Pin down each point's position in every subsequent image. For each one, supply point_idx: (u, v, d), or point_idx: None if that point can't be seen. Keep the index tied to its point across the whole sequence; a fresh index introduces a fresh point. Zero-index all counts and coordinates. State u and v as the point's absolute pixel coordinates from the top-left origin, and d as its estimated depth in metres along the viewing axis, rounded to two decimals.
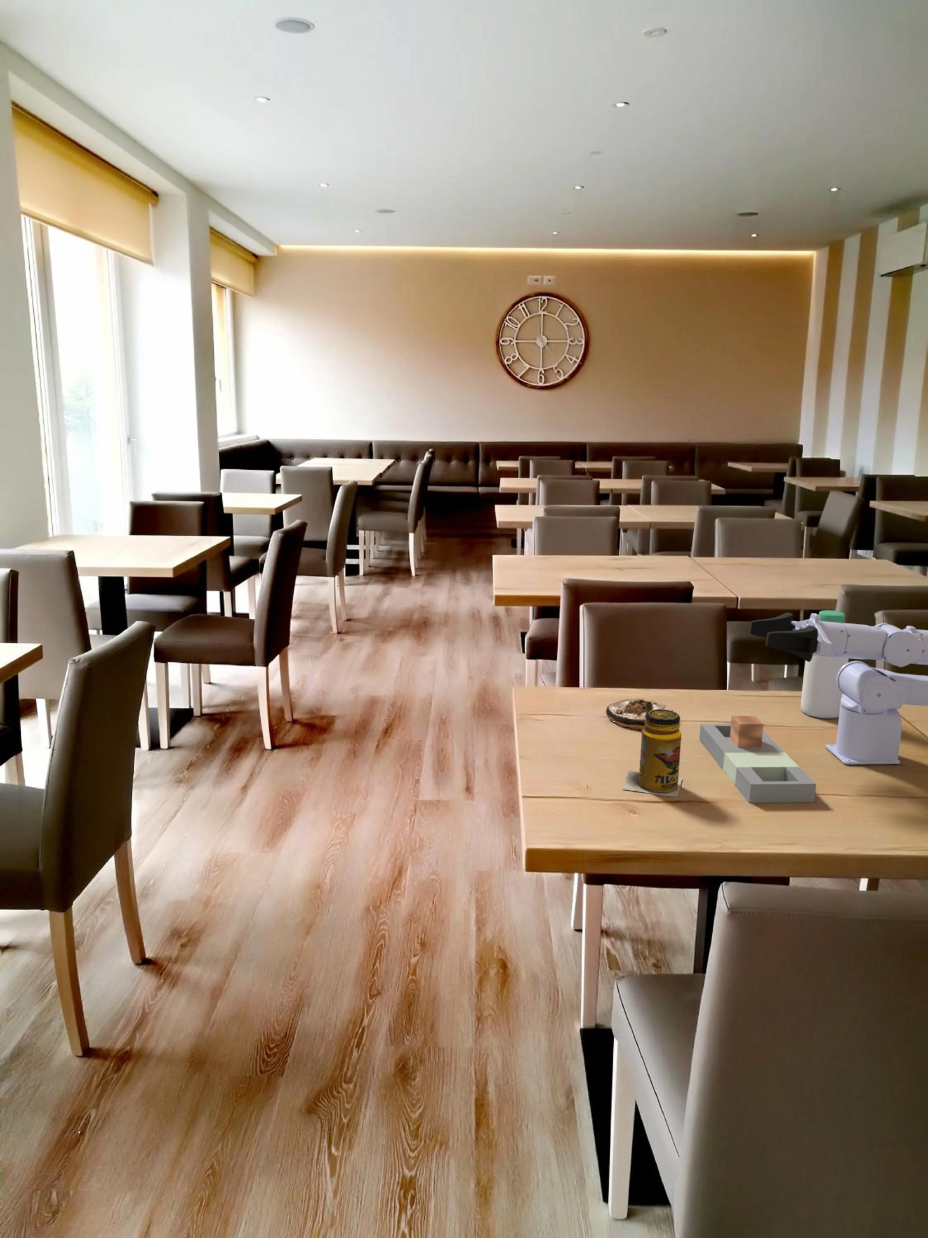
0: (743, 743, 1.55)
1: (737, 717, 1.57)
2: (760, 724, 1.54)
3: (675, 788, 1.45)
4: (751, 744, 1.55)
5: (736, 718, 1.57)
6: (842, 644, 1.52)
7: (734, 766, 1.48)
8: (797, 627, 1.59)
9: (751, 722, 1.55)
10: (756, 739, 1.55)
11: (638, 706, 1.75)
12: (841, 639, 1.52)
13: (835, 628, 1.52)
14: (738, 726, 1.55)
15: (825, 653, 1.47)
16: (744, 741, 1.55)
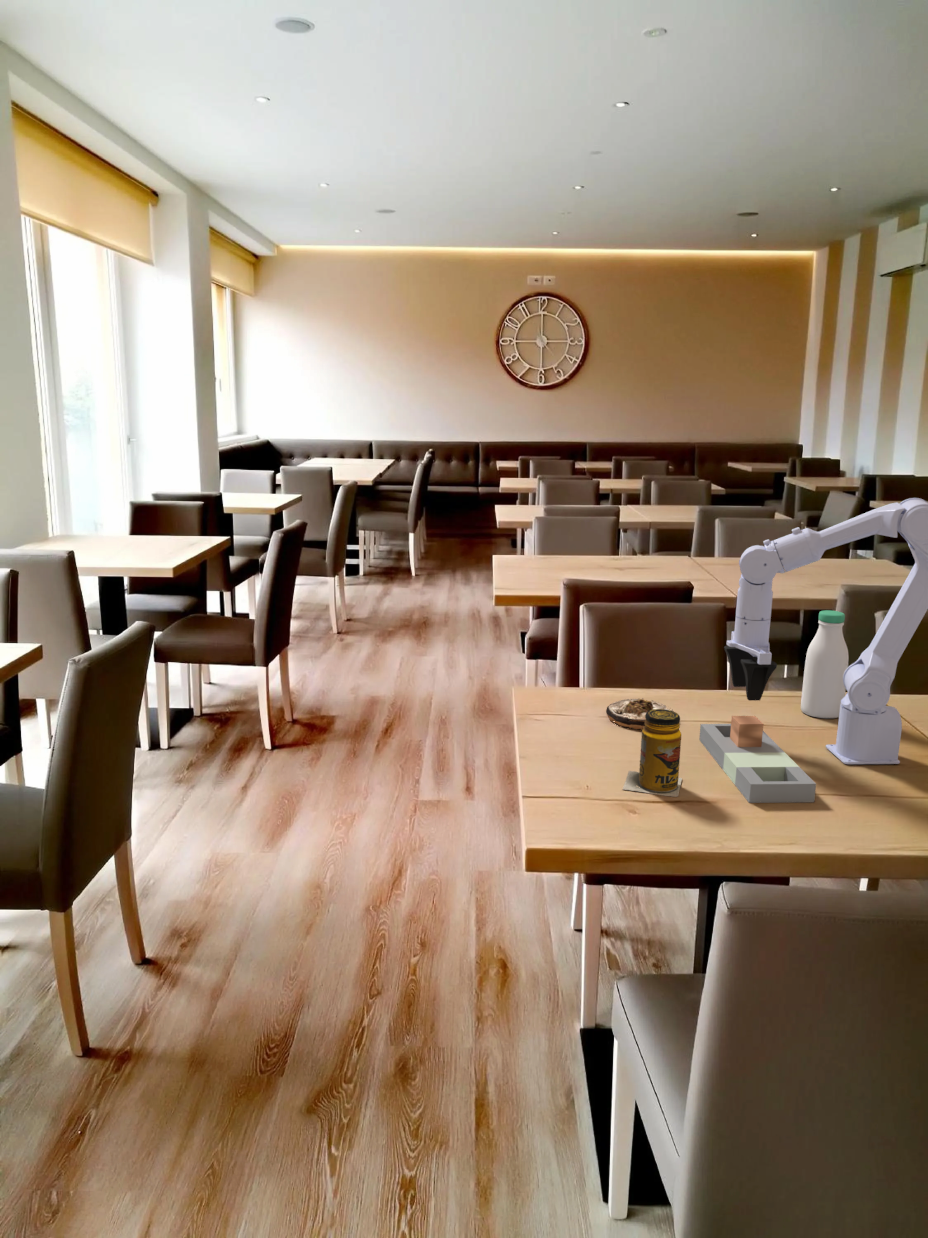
0: (743, 743, 1.55)
1: (737, 717, 1.57)
2: (760, 724, 1.54)
3: (675, 788, 1.45)
4: (751, 744, 1.55)
5: (736, 718, 1.57)
6: (758, 624, 1.57)
7: (734, 766, 1.48)
8: None
9: (751, 722, 1.55)
10: (756, 739, 1.55)
11: (638, 706, 1.75)
12: (753, 626, 1.57)
13: (742, 629, 1.58)
14: (738, 726, 1.55)
15: (769, 658, 1.54)
16: (744, 741, 1.55)
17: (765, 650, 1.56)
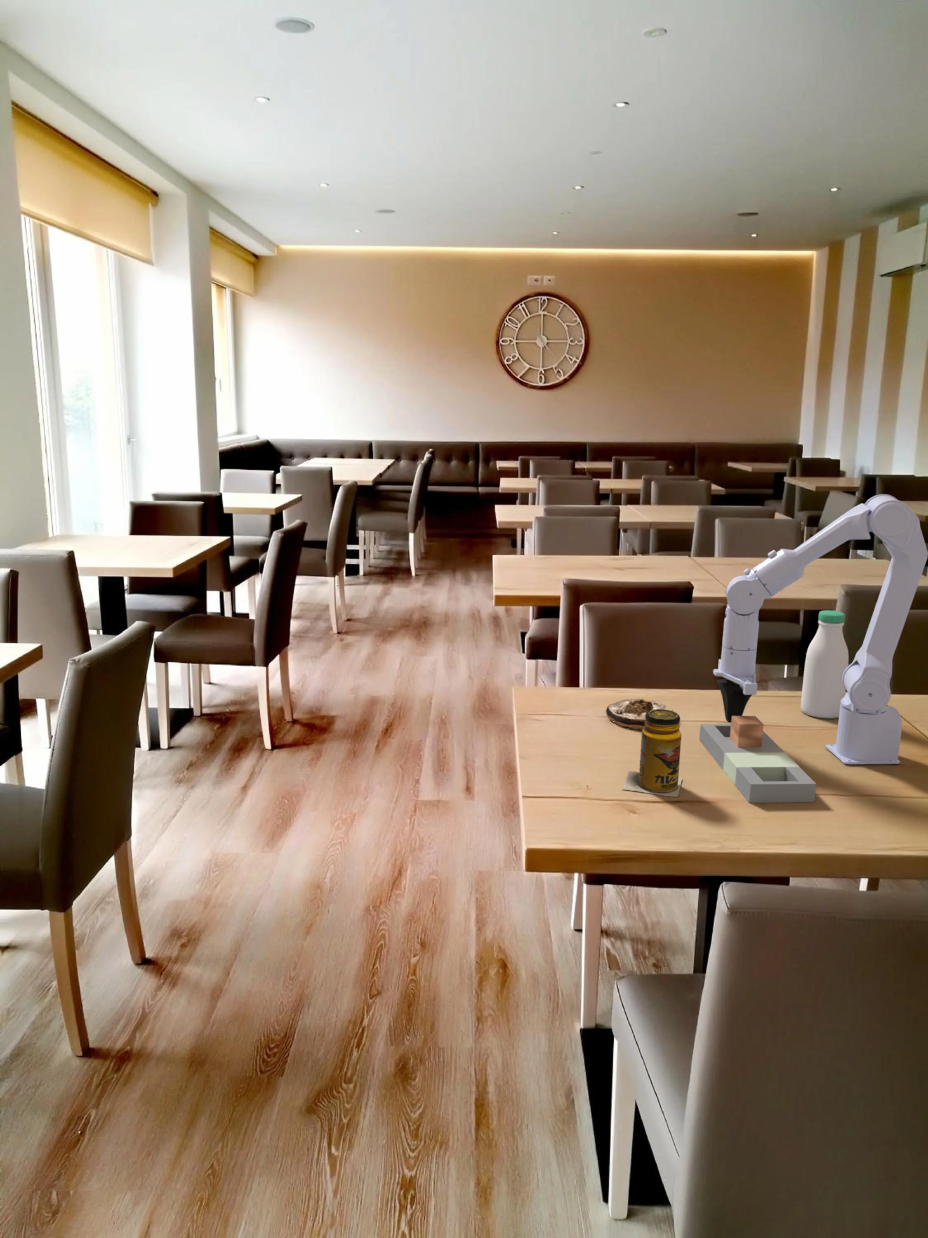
0: (743, 743, 1.55)
1: (737, 717, 1.57)
2: (760, 724, 1.54)
3: (675, 788, 1.45)
4: (751, 744, 1.55)
5: (736, 718, 1.57)
6: (745, 654, 1.58)
7: (734, 766, 1.48)
8: None
9: (751, 722, 1.55)
10: (756, 739, 1.55)
11: (638, 706, 1.75)
12: (739, 656, 1.58)
13: (728, 658, 1.59)
14: (738, 726, 1.55)
15: (755, 688, 1.55)
16: (744, 741, 1.55)
17: (751, 680, 1.57)
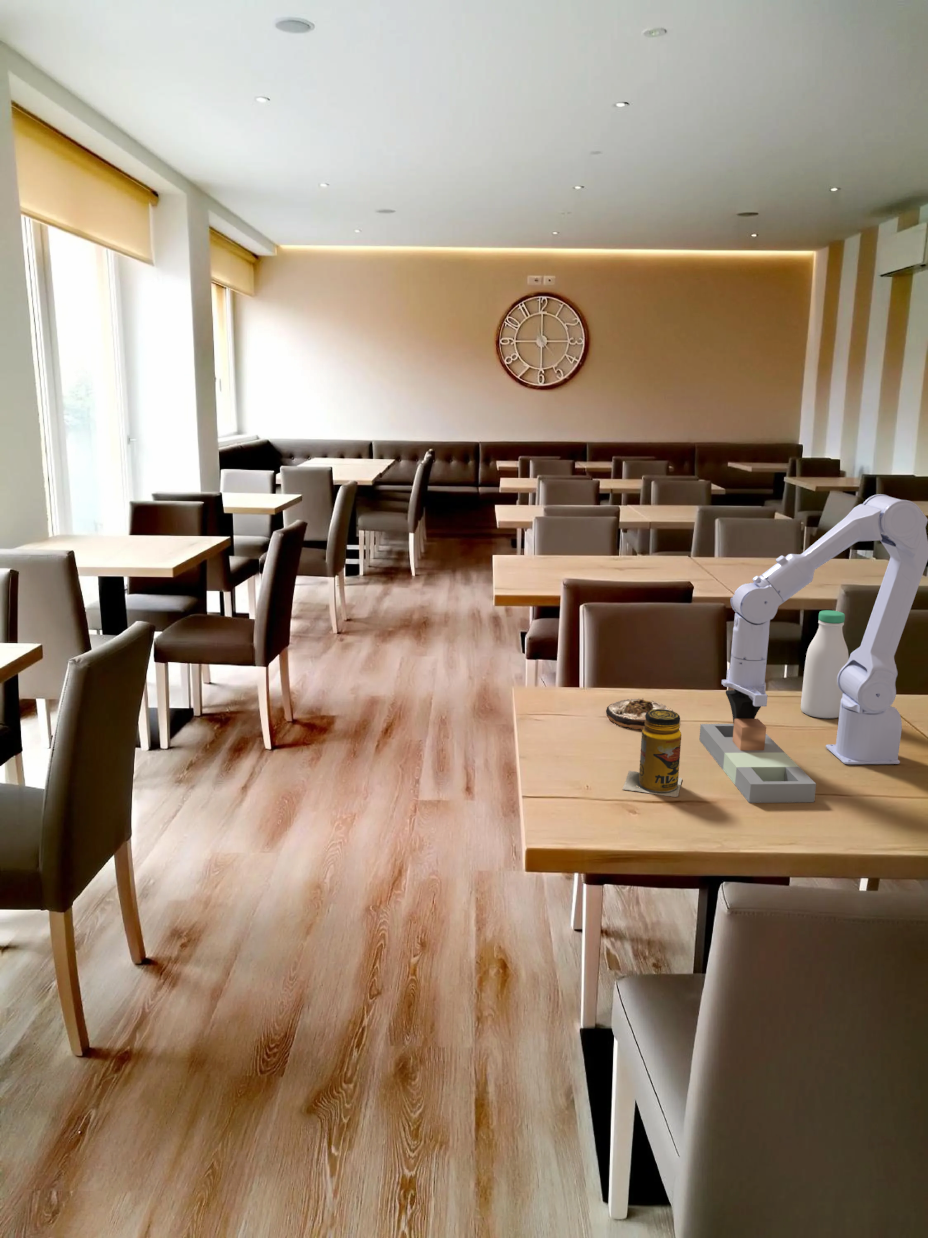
0: (745, 746, 1.54)
1: (740, 720, 1.56)
2: (763, 727, 1.53)
3: (675, 788, 1.45)
4: (754, 747, 1.54)
5: (739, 721, 1.55)
6: (754, 664, 1.53)
7: (734, 766, 1.48)
8: None
9: (754, 725, 1.54)
10: (759, 743, 1.54)
11: (638, 706, 1.75)
12: (749, 666, 1.53)
13: (737, 668, 1.54)
14: (741, 729, 1.53)
15: (765, 700, 1.50)
16: (746, 744, 1.54)
17: (761, 691, 1.52)
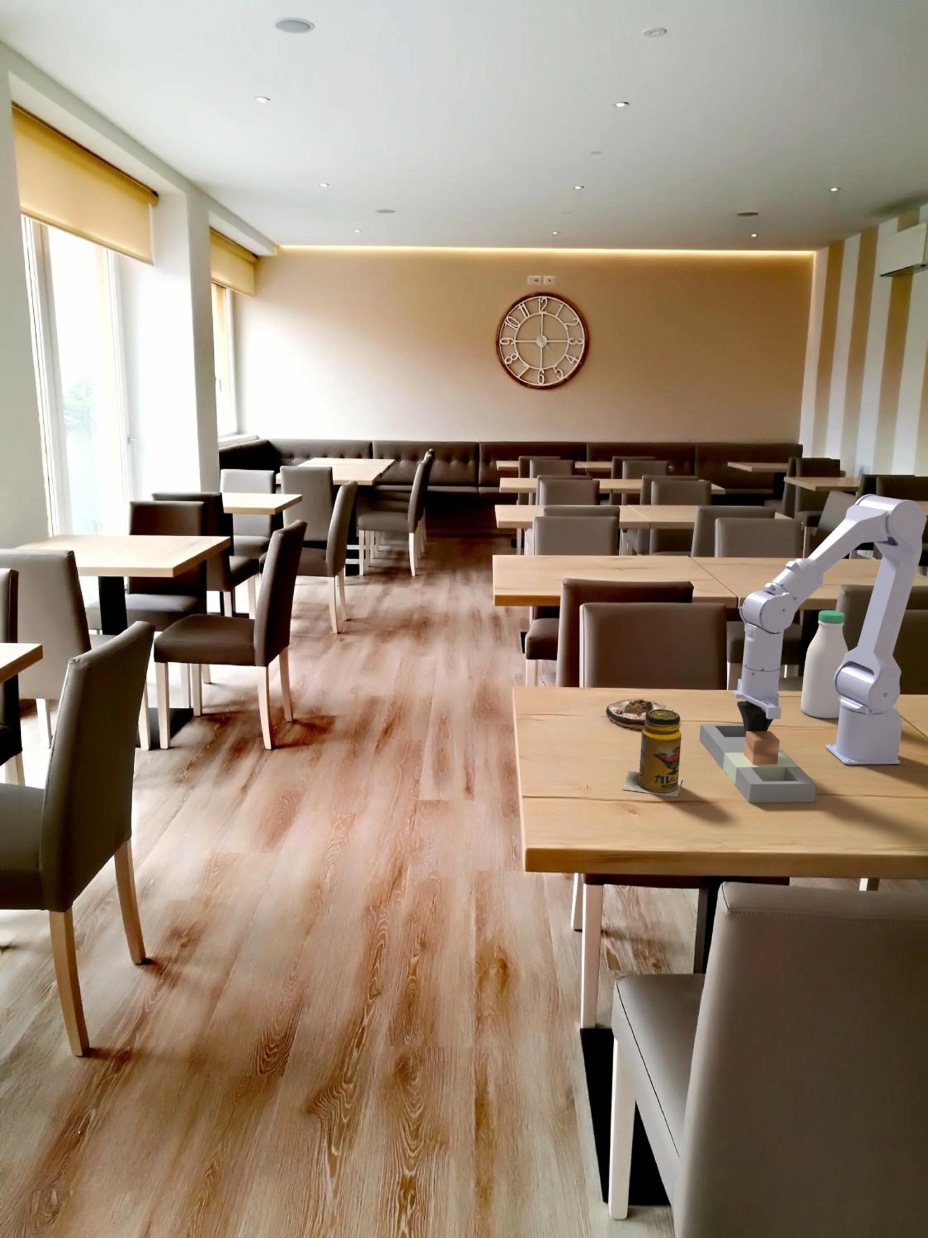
0: (758, 760, 1.48)
1: (752, 733, 1.50)
2: (776, 740, 1.47)
3: (675, 788, 1.45)
4: (766, 761, 1.48)
5: (751, 734, 1.50)
6: (767, 675, 1.47)
7: (734, 766, 1.48)
8: None
9: (766, 738, 1.48)
10: (772, 756, 1.48)
11: (638, 706, 1.75)
12: (762, 677, 1.47)
13: (749, 679, 1.49)
14: (753, 742, 1.47)
15: (779, 712, 1.44)
16: (759, 758, 1.48)
17: (774, 703, 1.46)
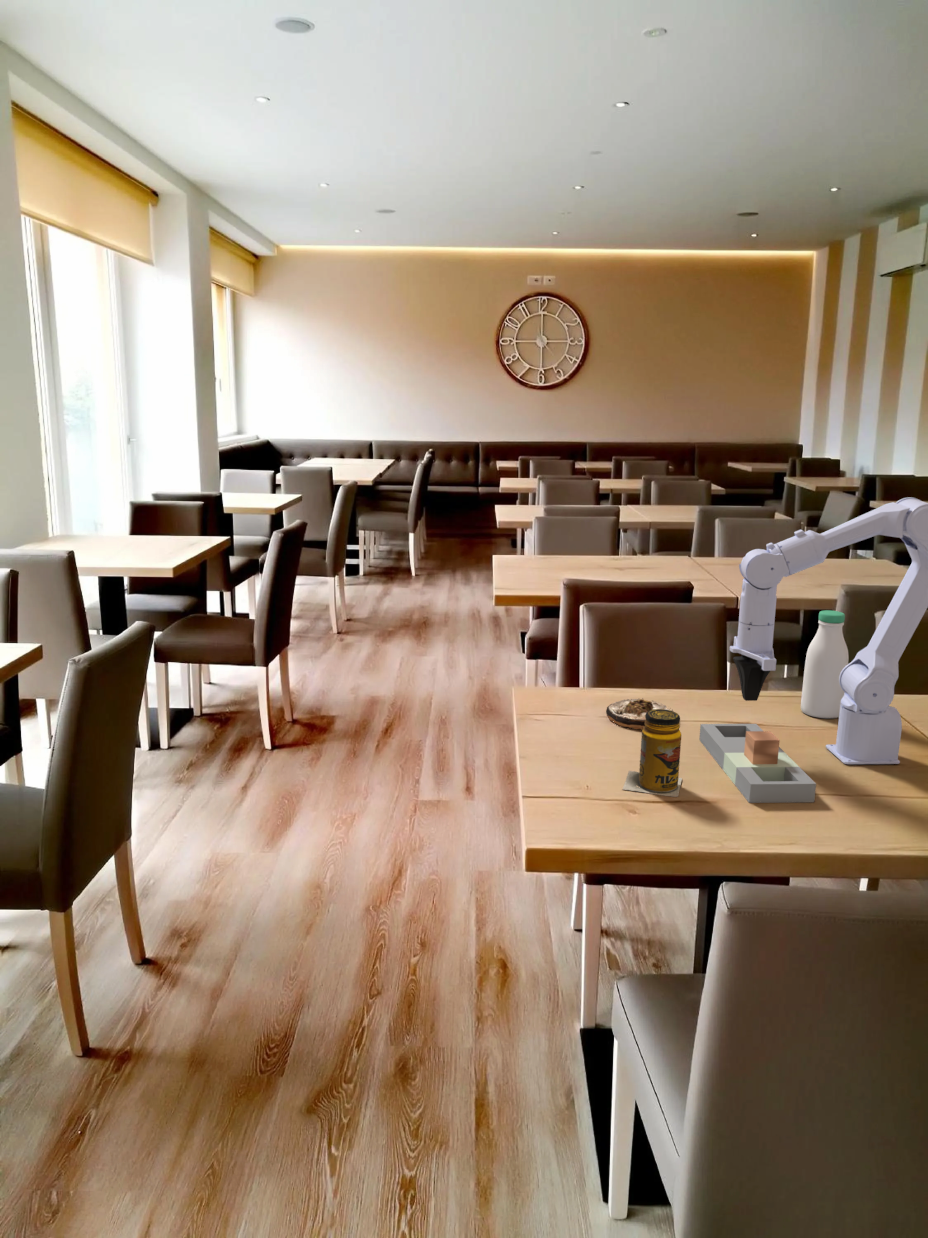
0: (758, 760, 1.48)
1: (752, 733, 1.50)
2: (776, 740, 1.47)
3: (675, 788, 1.45)
4: (766, 761, 1.48)
5: (751, 734, 1.50)
6: (762, 629, 1.54)
7: (734, 766, 1.48)
8: None
9: (766, 738, 1.48)
10: (772, 756, 1.48)
11: (638, 706, 1.75)
12: (757, 631, 1.54)
13: (745, 634, 1.55)
14: (753, 742, 1.47)
15: (774, 664, 1.50)
16: (759, 758, 1.48)
17: (769, 656, 1.53)
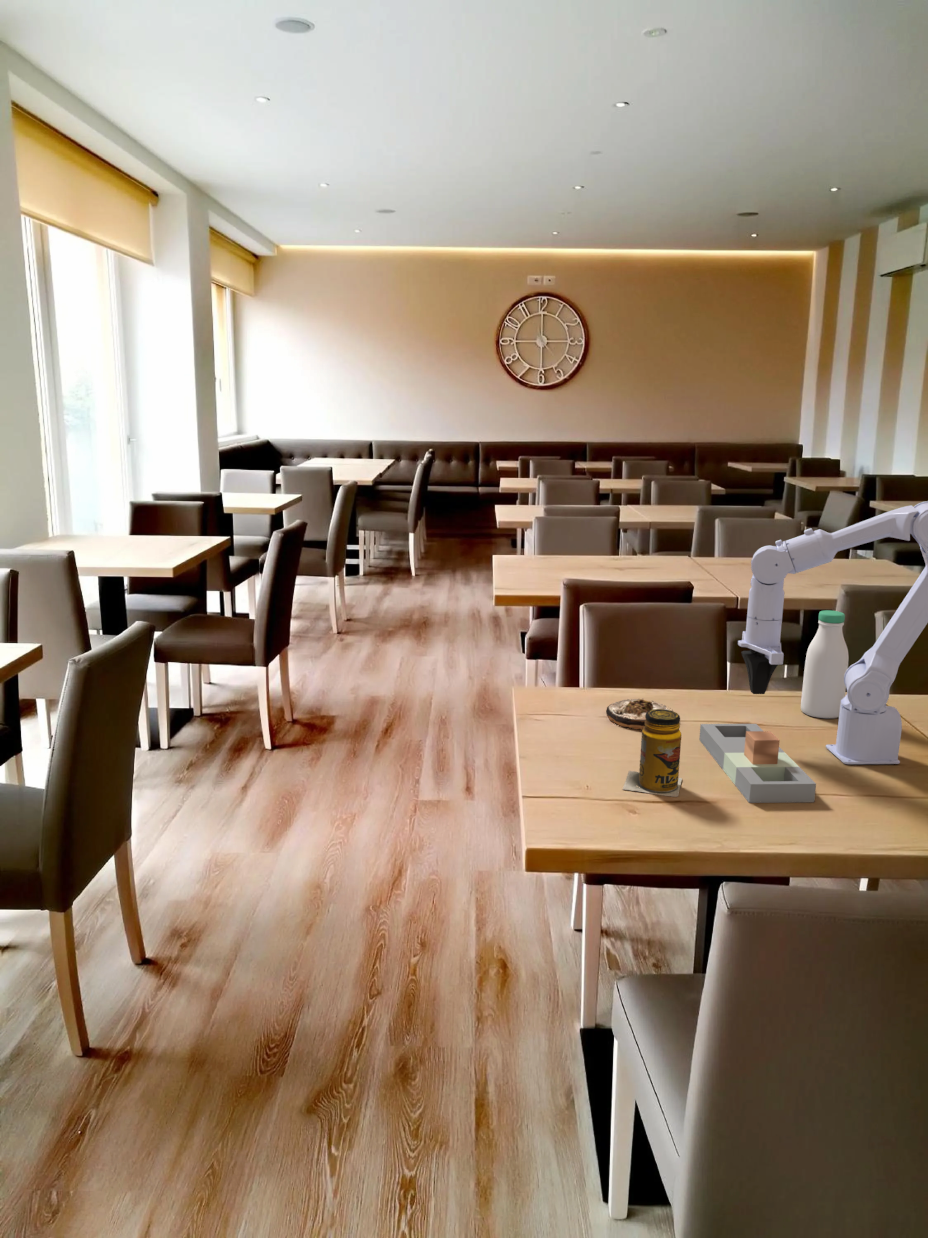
0: (758, 760, 1.48)
1: (752, 733, 1.50)
2: (776, 740, 1.47)
3: (675, 788, 1.45)
4: (766, 761, 1.48)
5: (751, 734, 1.50)
6: (770, 624, 1.57)
7: (734, 766, 1.48)
8: None
9: (766, 738, 1.48)
10: (772, 756, 1.48)
11: (638, 706, 1.75)
12: (765, 626, 1.57)
13: (753, 629, 1.58)
14: (753, 742, 1.47)
15: (781, 658, 1.54)
16: (759, 758, 1.48)
17: (777, 650, 1.56)
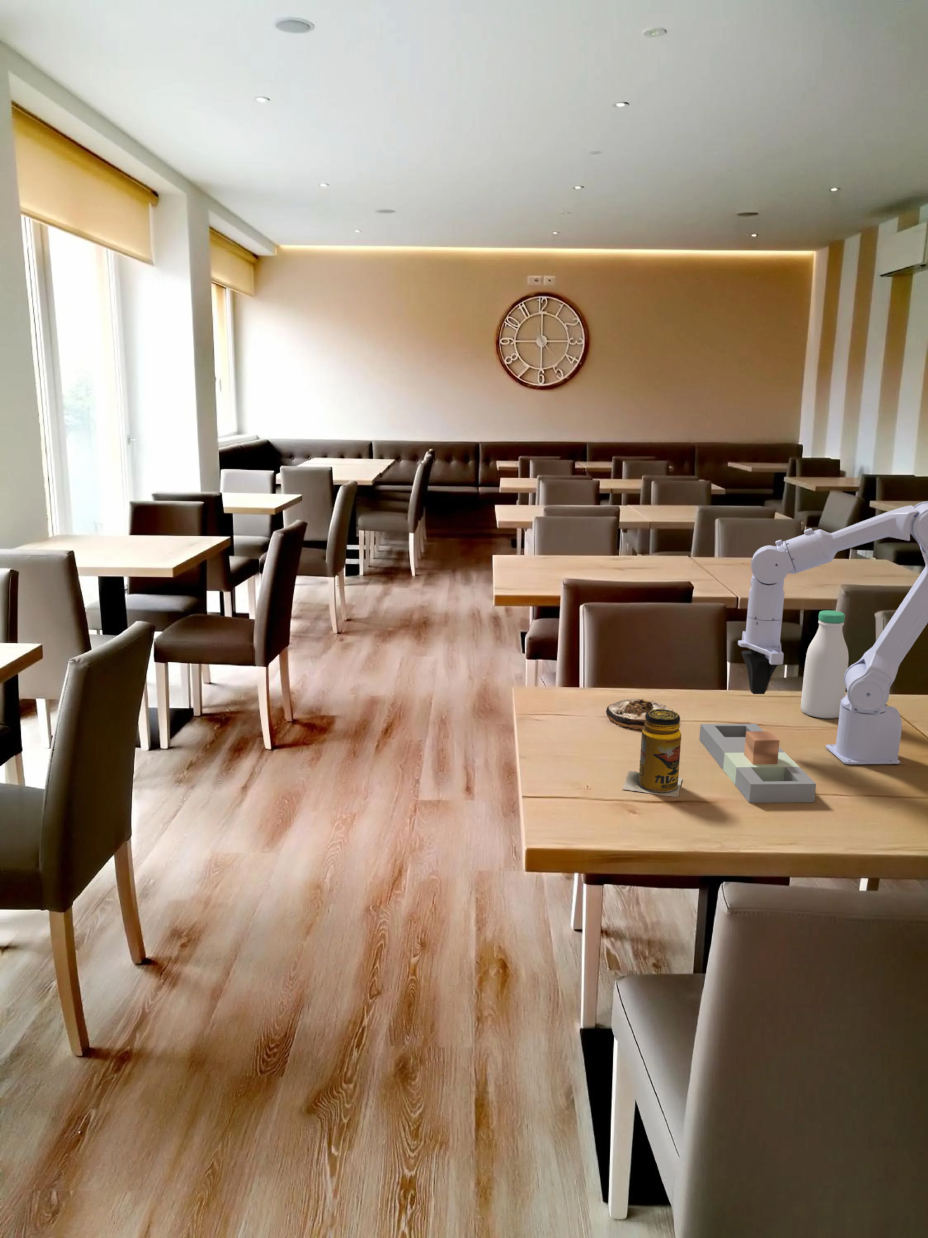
0: (758, 760, 1.48)
1: (752, 733, 1.50)
2: (776, 740, 1.47)
3: (675, 788, 1.45)
4: (766, 761, 1.48)
5: (751, 734, 1.50)
6: (770, 624, 1.57)
7: (734, 766, 1.48)
8: None
9: (766, 738, 1.48)
10: (772, 756, 1.48)
11: (638, 706, 1.75)
12: (765, 626, 1.57)
13: (753, 629, 1.58)
14: (753, 742, 1.47)
15: (781, 658, 1.54)
16: (759, 758, 1.48)
17: (777, 650, 1.56)
